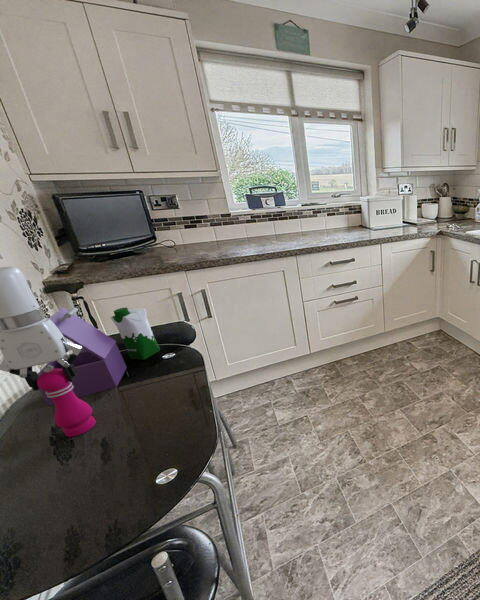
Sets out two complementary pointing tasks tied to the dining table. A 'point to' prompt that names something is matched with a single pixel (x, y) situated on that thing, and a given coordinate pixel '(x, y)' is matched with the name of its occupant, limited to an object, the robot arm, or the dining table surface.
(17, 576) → the dining table surface
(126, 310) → the milk carton
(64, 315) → the lid
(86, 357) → the box
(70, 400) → the pepper mill
